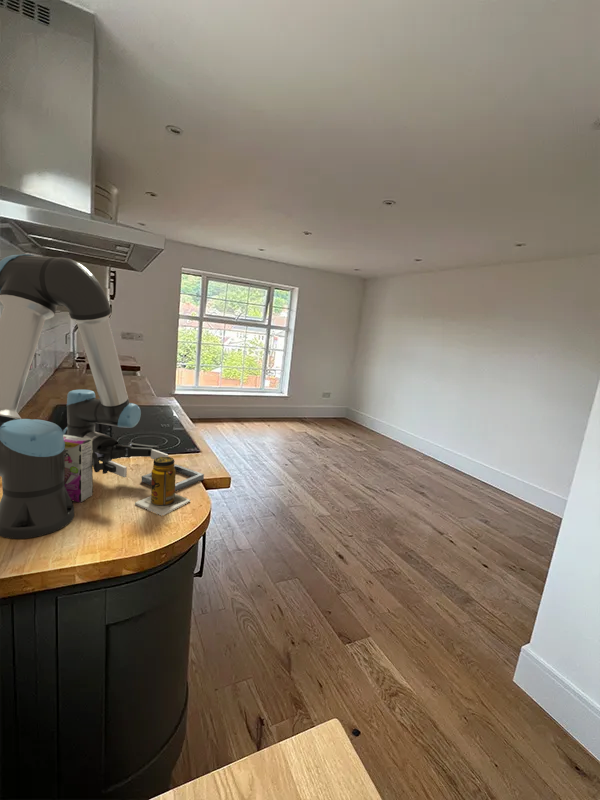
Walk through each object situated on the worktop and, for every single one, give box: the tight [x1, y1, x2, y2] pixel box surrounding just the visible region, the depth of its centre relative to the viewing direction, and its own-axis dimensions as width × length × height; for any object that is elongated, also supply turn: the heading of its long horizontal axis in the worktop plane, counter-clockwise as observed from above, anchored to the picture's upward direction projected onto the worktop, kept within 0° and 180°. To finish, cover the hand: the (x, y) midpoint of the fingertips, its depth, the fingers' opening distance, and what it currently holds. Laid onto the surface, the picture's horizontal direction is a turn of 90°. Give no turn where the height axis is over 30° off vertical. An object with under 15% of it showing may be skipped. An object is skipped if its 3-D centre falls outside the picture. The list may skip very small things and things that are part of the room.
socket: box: [141, 463, 205, 492], centre depth 115 cm, size 13×12×2 cm
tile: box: [134, 495, 192, 517], centre depth 101 cm, size 10×10×1 cm
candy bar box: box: [63, 434, 94, 503], centre depth 98 cm, size 11×5×16 cm, turn 83°
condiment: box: [145, 456, 188, 509], centre depth 100 cm, size 7×8×12 cm
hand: (147, 465), depth 102 cm, fingers open, 13 cm apart
